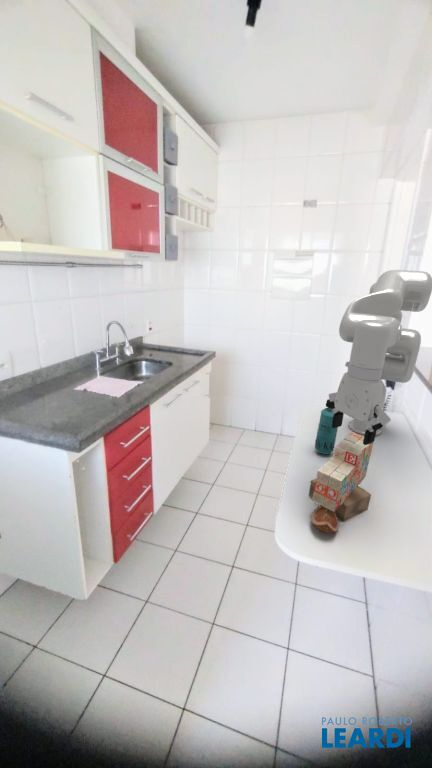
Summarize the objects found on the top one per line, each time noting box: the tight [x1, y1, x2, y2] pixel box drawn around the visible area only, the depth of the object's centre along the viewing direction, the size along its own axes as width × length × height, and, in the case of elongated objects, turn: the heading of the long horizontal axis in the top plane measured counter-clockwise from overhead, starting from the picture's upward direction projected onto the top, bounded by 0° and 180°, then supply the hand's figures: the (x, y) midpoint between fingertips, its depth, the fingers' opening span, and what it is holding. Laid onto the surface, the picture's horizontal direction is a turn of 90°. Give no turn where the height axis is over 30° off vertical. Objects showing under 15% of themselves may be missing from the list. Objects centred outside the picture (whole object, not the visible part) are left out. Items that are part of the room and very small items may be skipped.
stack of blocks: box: [311, 432, 374, 512], centre depth 91 cm, size 21×6×12 cm, turn 138°
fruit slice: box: [310, 504, 340, 534], centre depth 85 cm, size 8×7×5 cm
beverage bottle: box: [314, 398, 339, 455], centre depth 116 cm, size 6×7×20 cm
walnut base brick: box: [308, 478, 372, 523], centre depth 94 cm, size 10×12×5 cm
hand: (351, 434), depth 88 cm, fingers open, 9 cm apart
